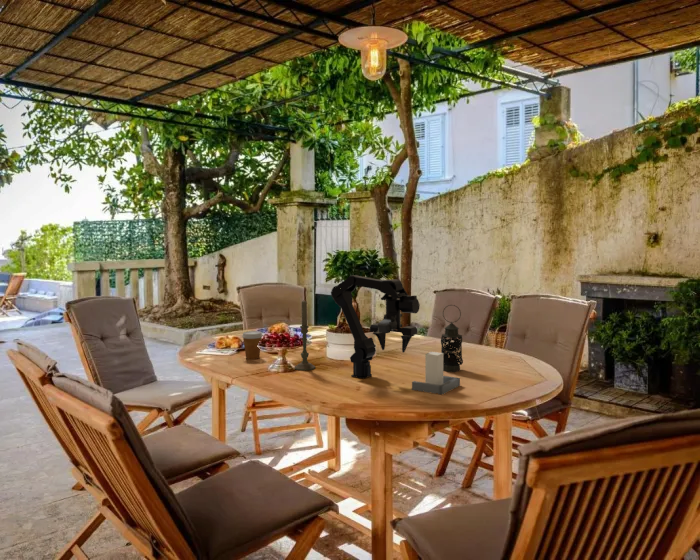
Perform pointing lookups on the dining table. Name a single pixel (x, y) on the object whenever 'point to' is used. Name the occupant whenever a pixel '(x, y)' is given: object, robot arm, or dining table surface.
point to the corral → (447, 385)
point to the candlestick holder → (304, 341)
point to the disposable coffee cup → (252, 344)
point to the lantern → (451, 347)
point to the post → (434, 368)
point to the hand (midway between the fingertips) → (393, 351)
